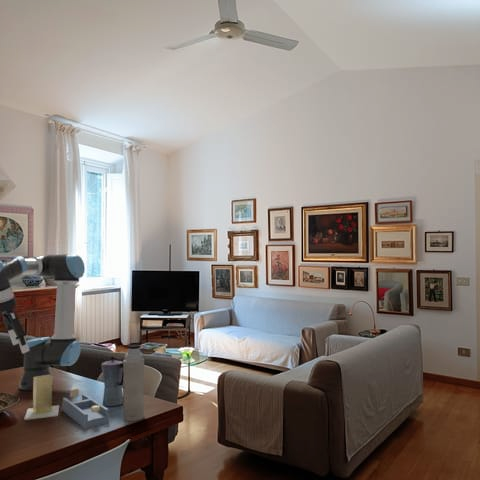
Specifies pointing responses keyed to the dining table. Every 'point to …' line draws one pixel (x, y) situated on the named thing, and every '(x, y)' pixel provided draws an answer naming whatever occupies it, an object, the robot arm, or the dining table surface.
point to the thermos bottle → (133, 384)
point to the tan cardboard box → (42, 394)
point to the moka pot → (112, 382)
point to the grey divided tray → (85, 410)
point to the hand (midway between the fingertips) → (21, 347)
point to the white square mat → (48, 414)
